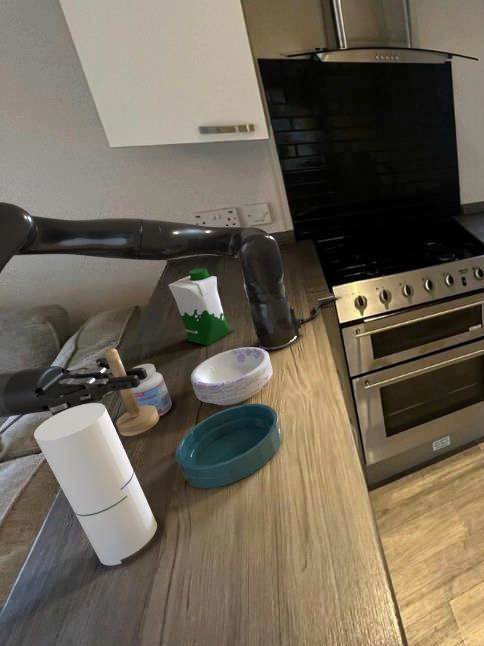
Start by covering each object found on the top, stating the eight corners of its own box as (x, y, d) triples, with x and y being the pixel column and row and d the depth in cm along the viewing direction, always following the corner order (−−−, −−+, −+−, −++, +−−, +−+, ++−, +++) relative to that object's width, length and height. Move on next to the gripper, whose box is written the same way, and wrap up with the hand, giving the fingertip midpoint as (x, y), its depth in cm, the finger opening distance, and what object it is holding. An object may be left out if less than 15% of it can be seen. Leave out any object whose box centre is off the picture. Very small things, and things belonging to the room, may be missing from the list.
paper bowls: (280, 366, 113) (273, 340, 110) (269, 405, 100) (261, 376, 97) (210, 379, 108) (201, 352, 105) (189, 422, 95) (179, 393, 92)
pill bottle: (131, 423, 94) (114, 381, 90) (147, 404, 100) (131, 363, 96) (165, 418, 96) (148, 376, 92) (178, 399, 101) (163, 359, 97)
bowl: (255, 413, 97) (250, 393, 95) (299, 443, 89) (294, 422, 87) (168, 466, 84) (159, 444, 82) (210, 506, 76) (202, 483, 74)
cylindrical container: (169, 520, 74) (119, 402, 65) (134, 564, 67) (72, 440, 58) (125, 521, 74) (69, 403, 65) (86, 566, 67) (17, 441, 58)
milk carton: (235, 331, 128) (218, 269, 121) (205, 348, 120) (184, 283, 113) (213, 326, 131) (194, 265, 124) (182, 342, 123) (160, 278, 115)
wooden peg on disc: (151, 409, 85) (123, 336, 79) (164, 420, 82) (136, 346, 76) (114, 428, 80) (81, 352, 74) (126, 440, 78) (93, 362, 72)
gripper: (-26, 401, 67) (110, 384, 71) (44, 350, 79) (156, 338, 83) (-5, 439, 69) (125, 420, 73) (60, 384, 82) (168, 370, 86)
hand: (141, 377), depth 78 cm, fingers closed on wooden peg on disc
